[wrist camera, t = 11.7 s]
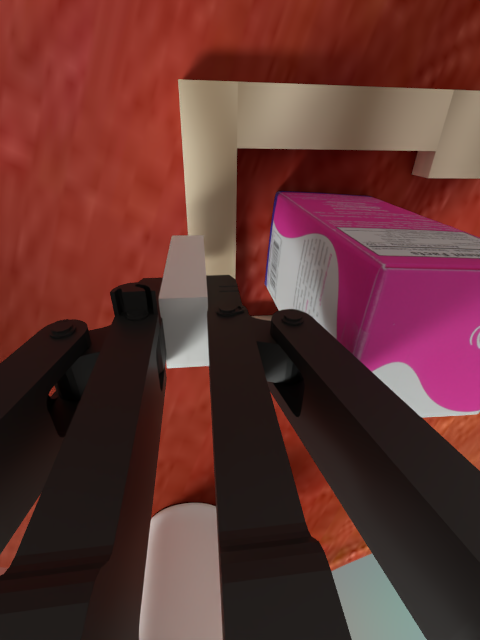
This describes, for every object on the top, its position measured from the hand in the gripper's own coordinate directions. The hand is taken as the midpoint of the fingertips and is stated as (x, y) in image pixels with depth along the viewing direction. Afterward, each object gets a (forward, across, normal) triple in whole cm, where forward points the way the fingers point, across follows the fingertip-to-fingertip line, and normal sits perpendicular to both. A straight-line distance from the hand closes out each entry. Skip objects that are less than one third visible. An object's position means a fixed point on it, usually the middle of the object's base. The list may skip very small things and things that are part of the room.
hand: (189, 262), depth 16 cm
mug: (+3, -3, -32) cm, 32 cm away
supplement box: (+3, +8, 0) cm, 8 cm away
